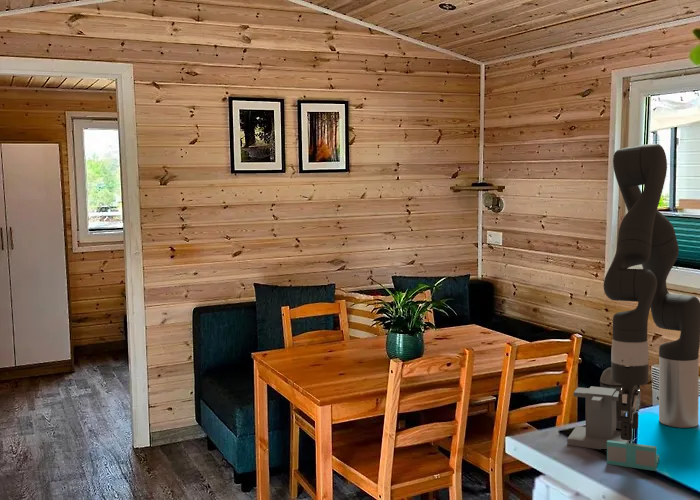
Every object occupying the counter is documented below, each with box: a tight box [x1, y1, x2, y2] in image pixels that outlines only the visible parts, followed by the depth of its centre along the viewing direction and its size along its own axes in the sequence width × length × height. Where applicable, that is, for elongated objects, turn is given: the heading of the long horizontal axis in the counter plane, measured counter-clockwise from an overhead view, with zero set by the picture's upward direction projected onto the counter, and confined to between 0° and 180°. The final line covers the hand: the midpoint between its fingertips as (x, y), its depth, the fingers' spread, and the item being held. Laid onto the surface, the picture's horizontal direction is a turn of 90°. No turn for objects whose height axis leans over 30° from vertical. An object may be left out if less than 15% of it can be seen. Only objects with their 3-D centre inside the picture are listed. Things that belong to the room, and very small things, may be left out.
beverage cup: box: [599, 366, 627, 428], centre depth 181 cm, size 7×7×20 cm
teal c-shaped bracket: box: [606, 440, 660, 472], centre depth 158 cm, size 7×10×5 cm
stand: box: [566, 385, 629, 450], centre depth 171 cm, size 10×13×12 cm
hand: (629, 433), depth 155 cm, fingers open, 8 cm apart
